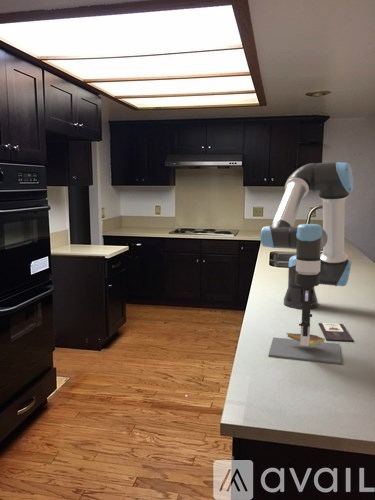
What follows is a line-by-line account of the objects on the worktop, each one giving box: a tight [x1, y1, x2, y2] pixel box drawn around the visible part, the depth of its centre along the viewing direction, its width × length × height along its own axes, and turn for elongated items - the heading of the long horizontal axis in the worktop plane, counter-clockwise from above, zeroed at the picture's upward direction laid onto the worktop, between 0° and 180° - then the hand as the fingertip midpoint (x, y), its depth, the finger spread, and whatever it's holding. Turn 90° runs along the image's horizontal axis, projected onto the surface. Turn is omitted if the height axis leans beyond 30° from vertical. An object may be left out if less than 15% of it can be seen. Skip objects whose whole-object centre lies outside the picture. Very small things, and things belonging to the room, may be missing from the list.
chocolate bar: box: [318, 322, 354, 343], centre depth 152 cm, size 9×1×18 cm
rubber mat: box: [268, 337, 343, 365], centre depth 135 cm, size 16×22×1 cm
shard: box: [286, 332, 326, 347], centre depth 136 cm, size 11×8×2 cm
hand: (305, 340), depth 134 cm, fingers closed on shard, 8 cm apart
